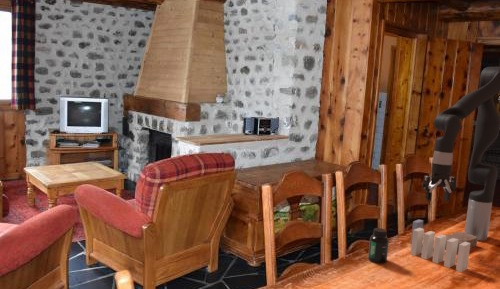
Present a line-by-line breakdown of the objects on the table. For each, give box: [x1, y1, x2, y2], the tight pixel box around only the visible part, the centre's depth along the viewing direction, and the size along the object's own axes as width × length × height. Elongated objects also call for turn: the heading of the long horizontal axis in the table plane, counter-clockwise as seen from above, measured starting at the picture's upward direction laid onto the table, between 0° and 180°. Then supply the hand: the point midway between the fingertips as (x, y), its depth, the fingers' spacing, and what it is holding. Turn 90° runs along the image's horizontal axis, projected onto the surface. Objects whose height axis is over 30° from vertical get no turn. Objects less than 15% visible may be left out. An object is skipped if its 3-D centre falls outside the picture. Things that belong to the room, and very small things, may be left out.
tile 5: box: [443, 238, 458, 269], centre depth 169 cm, size 5×2×10 cm, turn 132°
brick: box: [444, 231, 479, 253], centre depth 189 cm, size 17×8×5 cm, turn 122°
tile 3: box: [420, 230, 436, 260], centre depth 175 cm, size 5×2×10 cm, turn 132°
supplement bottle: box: [368, 227, 390, 265], centre depth 170 cm, size 7×7×12 cm
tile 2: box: [410, 227, 425, 257], centre depth 179 cm, size 5×2×10 cm, turn 132°
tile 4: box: [432, 233, 446, 264], centre depth 172 cm, size 5×2×10 cm, turn 132°
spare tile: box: [410, 219, 424, 245], centre depth 189 cm, size 5×2×10 cm, turn 132°
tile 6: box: [455, 242, 471, 273], centre depth 165 cm, size 5×2×10 cm, turn 132°
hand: (437, 200), depth 188 cm, fingers open, 8 cm apart
